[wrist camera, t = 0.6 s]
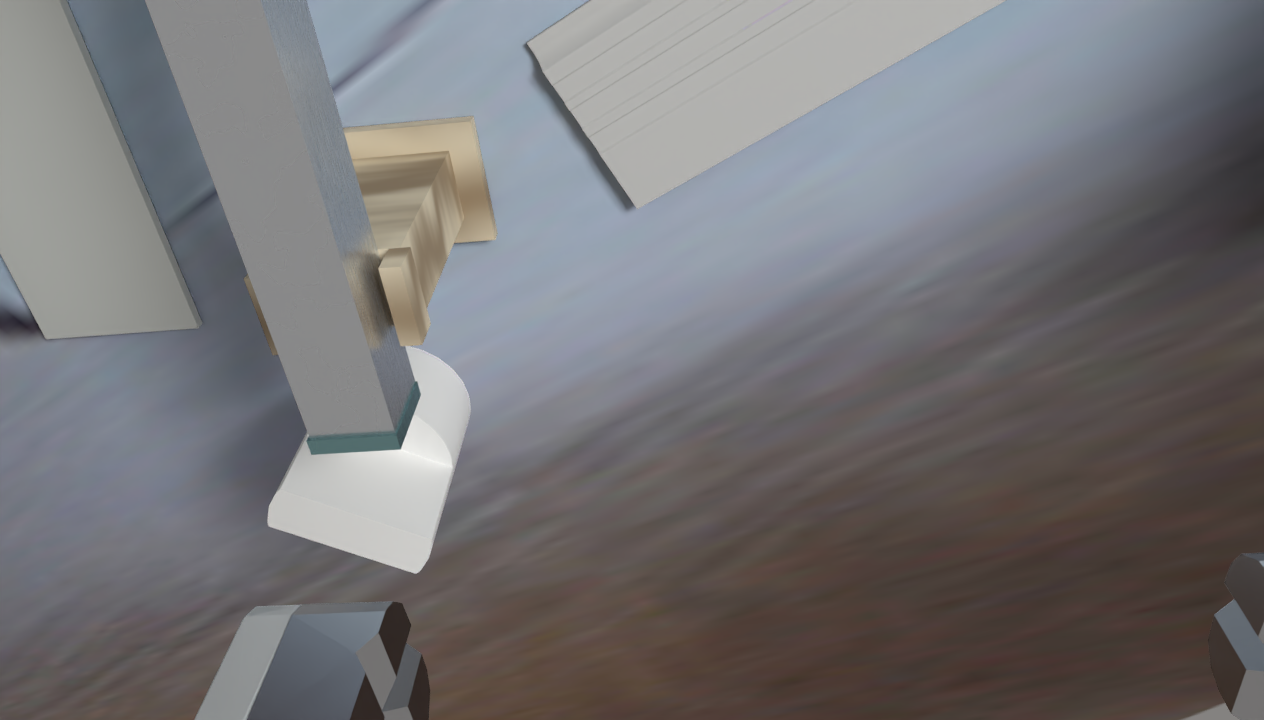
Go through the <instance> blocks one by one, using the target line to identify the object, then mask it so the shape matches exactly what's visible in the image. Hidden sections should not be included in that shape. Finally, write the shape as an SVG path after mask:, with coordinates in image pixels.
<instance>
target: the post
mask: <svg viewBox="0 0 1264 720" xmlns="http://www.w3.org/2000/svg"><path fill="white" fill-rule="evenodd" d="M343 130H344V134H345V137H346V141H347V144H348V148H349V151H350V155H351V158H352V162H353V165H354V169H355V172H356V176H357V179H358V183H359V186H360V190H361V193H362V197H363V200H364V204H365V207H366V211H367V214H368V218H369V221H370V225H371V228H372V232H373V235H374V239H375V242H376V246H377V249H378V253H379V256H380V260H381V264H380V266H379V268H378V270H379V273H380V277H381V280H382V284H383V287H384V291H385V294H386V297H387V301H388V304H389V308H390V311H391V315H392V318H393V322H394V325H395V329H396V332H397V335H398V339H399V342H400V346H413V345H422V344H423V342H424V339H425V337H426V334H427V332H428V329H429V327H430V324H431V323H430V319H429V315H428V311H427V307H428V304H429V302H430V299H431V297H432V295H433V292H434V290H435V287H436V285H437V283H438V280H439V278H440V275H441V273H442V270H443V268H444V266H445V263H446V261H447V258H448V256H449V253H450V251H451V249H452V246H453V244H454V243H462V242H474V241H487V240H495V239H496V236H497V229H496V224H495V219H494V214H493V209H492V204H491V200H490V195H489V190H488V185H487V180H486V175H485V170H484V165H483V161H482V156H481V151H480V146H479V141H478V136H477V131H476V126H475V122H474V117H473V116H469V117H458V118H447V119H436V120H425V121H414V122H403V123H392V124H381V125H370V126H359V127H348V128H343ZM244 281H245V284H246V286H247V289H248V291H249V294H250V297H251V299H252V302H253V305H254V307H255V310H256V313H257V315H258V318H259V320H260V323H261V326H262V328H263V331H264V334H265V336H266V339H267V341H268V344H269V347H270V349H271V352H272V355H278V353H277V350H276V347H275V345H274V342H273V339H272V337H271V334H270V331H269V329H268V326H267V323H266V321H265V318H264V315H263V313H262V310H261V307H260V305H259V302H258V299H257V297H256V294H255V291H254V289H253V286H252V284H251V281H250V278H249V276H248V274H247V275H246V276H245V278H244Z"/></svg>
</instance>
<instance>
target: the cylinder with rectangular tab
mask: <svg viewBox="0 0 1264 720" xmlns="http://www.w3.org/2000/svg"><path fill="white" fill-rule="evenodd" d="M405 347H406V351H407V354H408V358H409V361H410V365H411V368H412V372H413V375H414V379H415V381H417V382H418V386H419V389H420V393H421V396H420V399H419V401H418V404H417V407H416V410H415V412H414V415H413V418H412V420H411V423H410V426H409V428H408V431H407V434H406V437H405V439H404V442H403V445H402V447H401V450H385V451H368V452H351V453H334V454H317V455H311V452H310V450H309V447H308V444H307V442H306V441H307V439H308V437H309V435H308V432H307V433H306V435H305V437H304V439H303V441H302V442H301V444H300V446H299V448H298V450H297V452H296V454H295V456H294V458H293V460H292V462H291V464H290V466H289V468H288V470H287V472H286V474H285V476H284V478H283V480H282V482H281V484H280V486H279V488H278V490H277V491H276V493H275V495H274V497H273V499H272V501H271V503H270V505H269V510H268V520H267V522H268V526H269V527H272V528H275V529H278V530H281V531H284V532H288V533H291V534H294V535H297V536H300V537H303V538H306V539H309V540H312V541H316V542H319V543H322V544H325V545H328V546H331V547H334V548H337V549H341V550H344V551H347V552H350V553H353V554H356V555H359V556H362V557H365V558H369V559H372V560H375V561H378V562H381V563H384V564H387V565H390V566H393V567H397V568H400V569H403V570H406V571H409V572H412V573H415V574H417V573H418V572H419V571H420V570H421V569H422V567H423V566H424V565H425V563H426V562H427V560H428V559H429V556H430V552H431V549H432V546H433V542H434V539H435V535H436V532H437V528H438V525H439V522H440V518H441V515H442V511H443V508H444V504H445V501H446V498H447V494H448V491H449V487H450V484H451V480H452V477H453V473H454V470H455V467H456V463H457V460H458V456H459V453H460V449H461V446H462V443H463V439H464V436H465V432H466V429H467V425H468V421H469V417H470V413H471V407H470V397H469V395H468V392H467V390H466V388H465V385H464V383H463V381H462V380H461V379H460V378H459V376H458V375H457V374H456V373H455V371H454V370H453V369H452V368H451V367H449V366H448V365H447V364H446V363H444V362H443V361H442V360H441V359H439V358H438V357H436V356H434V355H432V354H430V353H428V352H425V351H423V350H421V349H417V348H413V347H409V346H405Z"/></svg>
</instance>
